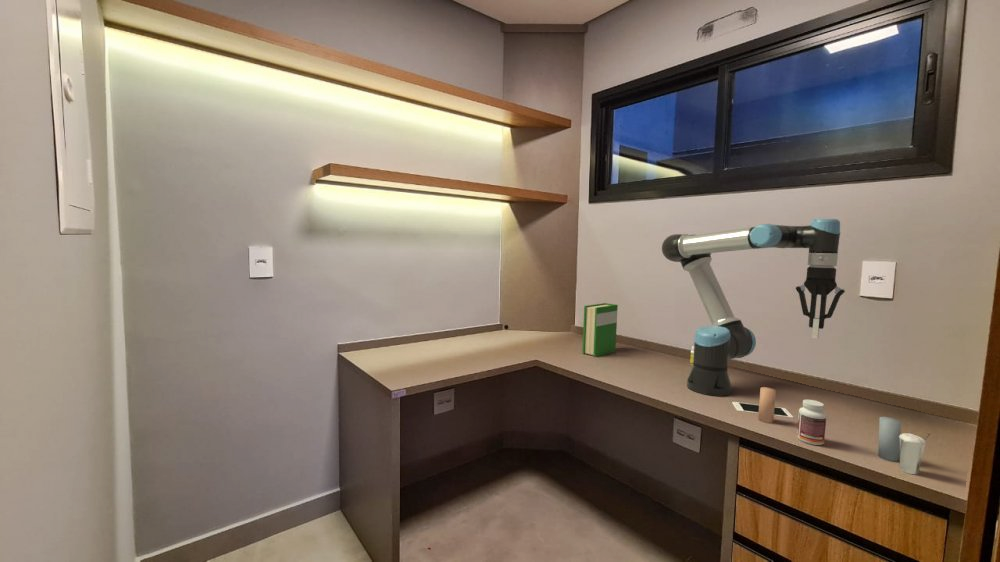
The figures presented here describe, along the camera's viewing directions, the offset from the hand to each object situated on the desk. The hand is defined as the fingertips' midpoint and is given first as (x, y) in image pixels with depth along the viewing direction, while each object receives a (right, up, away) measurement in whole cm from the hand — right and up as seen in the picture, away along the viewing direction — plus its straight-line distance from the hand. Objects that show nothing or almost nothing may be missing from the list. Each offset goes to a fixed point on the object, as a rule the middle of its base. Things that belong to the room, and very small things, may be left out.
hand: (815, 337), depth 136 cm
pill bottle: (-18, -26, -21) cm, 38 cm away
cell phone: (-17, -25, +1) cm, 30 cm away
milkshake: (-4, -28, -36) cm, 46 cm away
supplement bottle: (-15, -20, +51) cm, 57 cm away
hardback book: (-55, -17, +69) cm, 90 cm away
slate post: (-4, -27, -30) cm, 40 cm away
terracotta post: (-22, -25, -8) cm, 34 cm away
